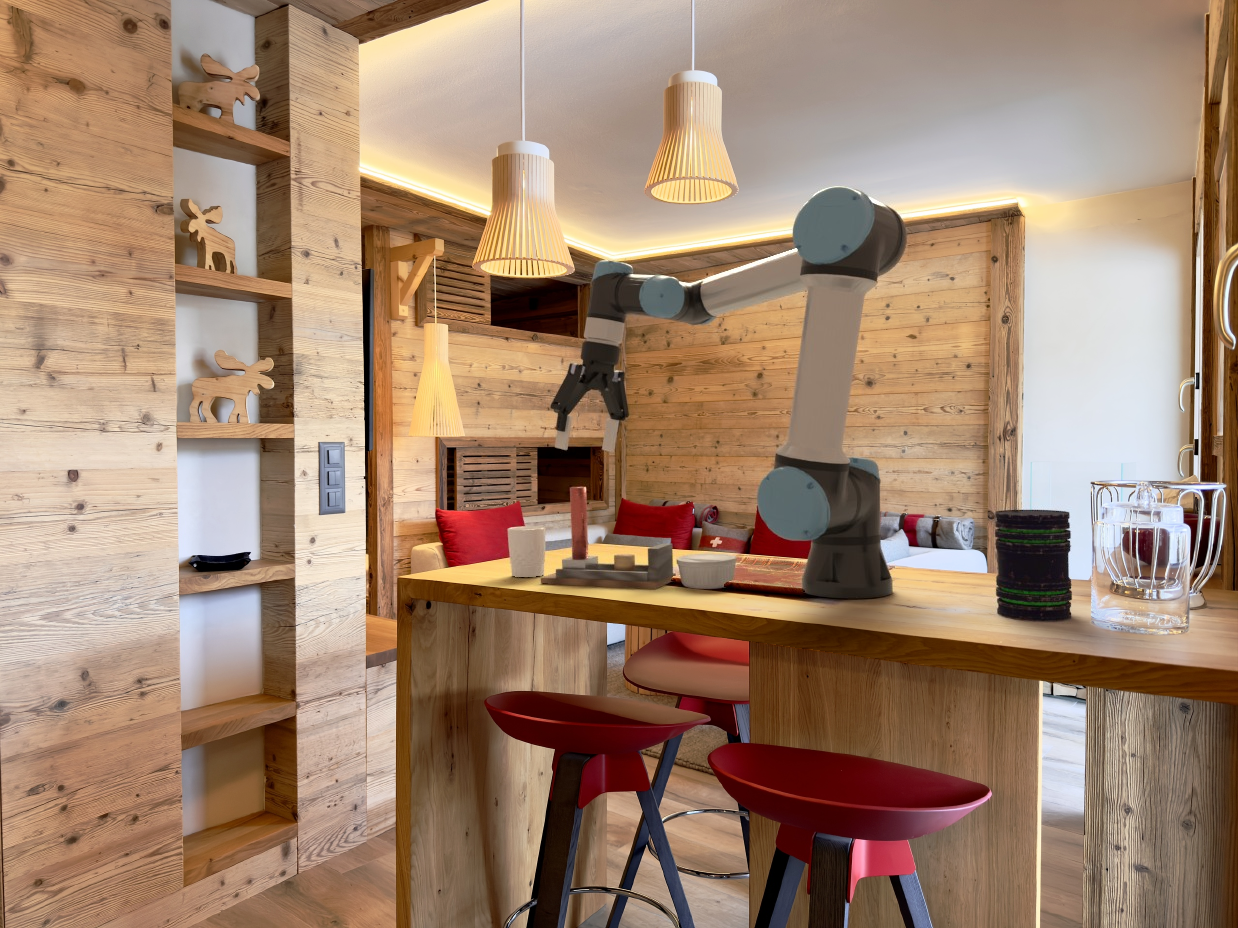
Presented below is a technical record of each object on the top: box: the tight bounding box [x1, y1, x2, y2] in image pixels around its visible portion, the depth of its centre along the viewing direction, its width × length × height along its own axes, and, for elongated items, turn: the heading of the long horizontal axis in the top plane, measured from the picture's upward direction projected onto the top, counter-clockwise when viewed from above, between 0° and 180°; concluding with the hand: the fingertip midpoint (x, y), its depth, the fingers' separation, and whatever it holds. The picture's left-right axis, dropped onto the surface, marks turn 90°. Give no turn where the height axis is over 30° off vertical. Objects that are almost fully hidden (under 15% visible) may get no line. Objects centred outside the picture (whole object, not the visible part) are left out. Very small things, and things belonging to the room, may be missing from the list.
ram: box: [561, 486, 599, 570], centre depth 159 cm, size 5×6×17 cm
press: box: [540, 543, 677, 590], centre depth 157 cm, size 24×11×7 cm, turn 67°
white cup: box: [507, 525, 547, 578], centre depth 168 cm, size 8×8×10 cm
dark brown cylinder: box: [994, 509, 1073, 623], centre depth 117 cm, size 10×10×15 cm
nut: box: [613, 553, 636, 571], centre depth 156 cm, size 4×4×4 cm
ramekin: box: [676, 552, 738, 590], centre depth 151 cm, size 11×11×5 cm
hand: (585, 450), depth 159 cm, fingers open, 13 cm apart
